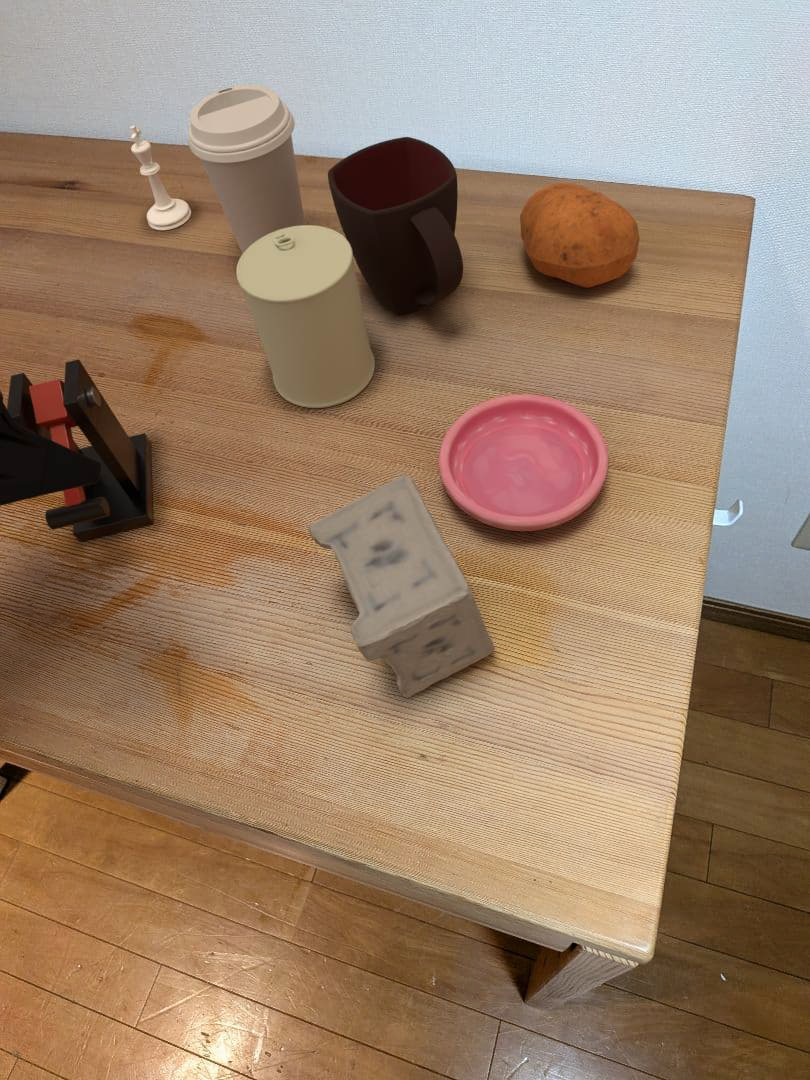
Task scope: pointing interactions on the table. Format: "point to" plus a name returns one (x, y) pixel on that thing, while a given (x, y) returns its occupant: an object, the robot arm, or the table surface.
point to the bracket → (97, 451)
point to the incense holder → (404, 586)
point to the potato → (578, 234)
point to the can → (308, 314)
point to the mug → (400, 221)
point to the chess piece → (158, 190)
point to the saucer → (523, 462)
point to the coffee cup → (249, 159)
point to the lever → (60, 423)
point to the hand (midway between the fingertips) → (62, 465)
